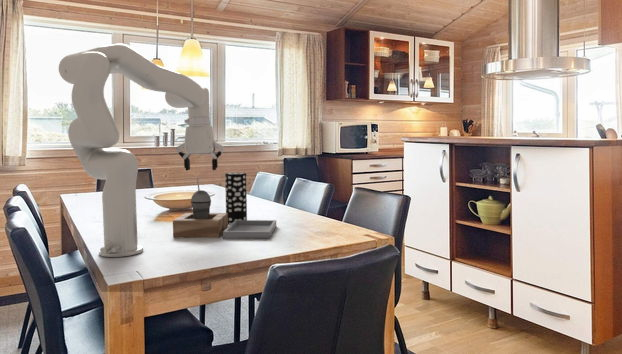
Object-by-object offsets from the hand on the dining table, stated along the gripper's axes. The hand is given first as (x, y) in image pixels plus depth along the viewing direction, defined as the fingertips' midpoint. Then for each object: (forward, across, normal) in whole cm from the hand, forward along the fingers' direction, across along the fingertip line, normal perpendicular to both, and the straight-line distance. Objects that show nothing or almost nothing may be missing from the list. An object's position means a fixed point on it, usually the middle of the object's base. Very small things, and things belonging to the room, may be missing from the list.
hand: (201, 170), depth 179 cm
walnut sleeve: (+23, 0, -1) cm, 23 cm away
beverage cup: (+23, 0, -1) cm, 23 cm away
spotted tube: (+24, +9, +19) cm, 32 cm away
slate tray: (+23, +18, 0) cm, 29 cm away
